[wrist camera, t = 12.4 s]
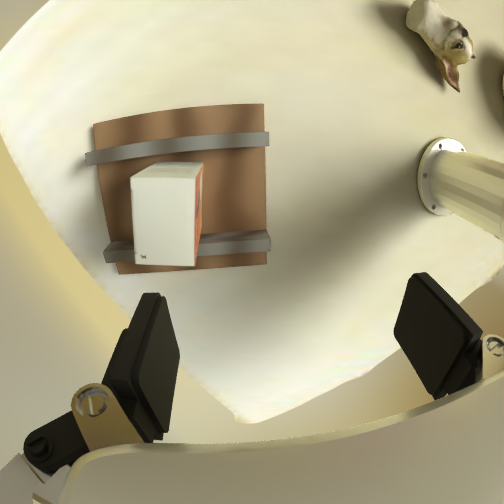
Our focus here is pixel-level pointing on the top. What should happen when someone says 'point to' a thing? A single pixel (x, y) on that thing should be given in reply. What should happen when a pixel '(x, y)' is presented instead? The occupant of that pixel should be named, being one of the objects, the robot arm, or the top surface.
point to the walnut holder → (214, 179)
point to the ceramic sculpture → (441, 38)
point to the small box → (167, 213)
